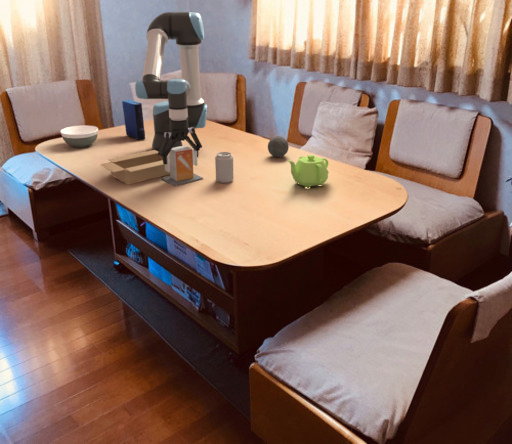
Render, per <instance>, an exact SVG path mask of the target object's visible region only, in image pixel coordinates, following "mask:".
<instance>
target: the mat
mask: <svg viewBox="0 0 512 444" xmlns="http://www.w3.org/2000/svg"><path fill="white" fill-rule="evenodd" d="M193 176H194V178H191V179H185V180H181V181H176V180H174V179H172V178H171V175H167V176H163V177H160V178H161V180H162V181H164V182H166V183H168V184H169V185H171V186H173V187H177V186H181V185H185V184H190V183H194V182H197V181H201V180H204V177H202V176H200V175H198V174H195V172H193Z"/></svg>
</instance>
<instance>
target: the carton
mask: <svg viewBox="0 0 512 444" xmlns="http://www.w3.org/2000/svg"><path fill="white" fill-rule="evenodd" d="M168 157H169V154H168ZM108 161H109V162H104V163H100V164H99V165H100V166H102V167H103V168H105V169H107V171H110V174H111V175H110V176H112V177H113V178H116V179H117V180H119V181H121V182H123V183H124V184H125V185H132V184H136V183H139V182H144V181H148V180H152V179H156V178H162V177H166V176H170V175H171V174H170V172H167V171H165V164H163V157H162V156H159V155H158V151H156V150H153V149H152V150H147V151H141V152H138V153H133V154H129V155H124V156H118V157H115V158H109V159H108ZM169 163H170V158H169Z"/></svg>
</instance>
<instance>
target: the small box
mask: <svg viewBox="0 0 512 444" xmlns="http://www.w3.org/2000/svg"><path fill="white" fill-rule="evenodd" d="M192 150H193V148H192V147H191V146H190V147H189V146H188V145H182V146H180V147H175V148H172V149H171V151H170V152H169V158H170V174H169V175H170V176H171V178H172V179H174V180H176V181H181V180H185V179H191V178H194V176H193V173H194V165H193V151H192Z"/></svg>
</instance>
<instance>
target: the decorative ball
mask: <svg viewBox="0 0 512 444" xmlns="http://www.w3.org/2000/svg"><path fill="white" fill-rule="evenodd" d="M267 151H268V153H269V154H270V155H271V156H272V157H275V158H282V157H284V156H285V155H287V154H288V151H289V142H288V140H287V139H286V138H284V137H282V136H280V135H279V136H274V137H272V138H270V139H269V141H268V144H267Z"/></svg>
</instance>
